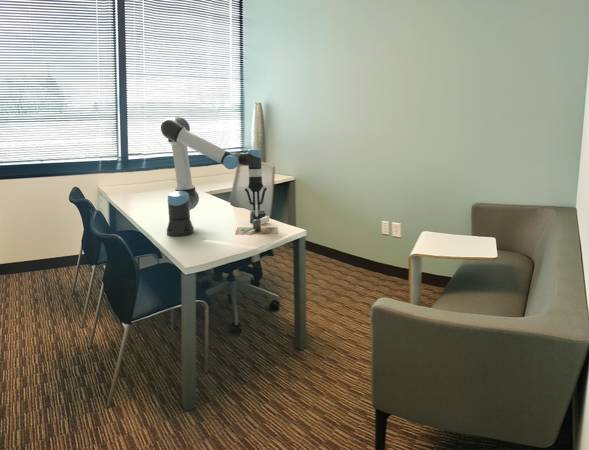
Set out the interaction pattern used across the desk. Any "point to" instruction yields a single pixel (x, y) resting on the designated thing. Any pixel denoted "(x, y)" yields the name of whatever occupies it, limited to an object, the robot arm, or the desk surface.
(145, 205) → the desk surface
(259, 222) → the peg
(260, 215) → the electrical switch
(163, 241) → the desk surface
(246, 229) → the board
